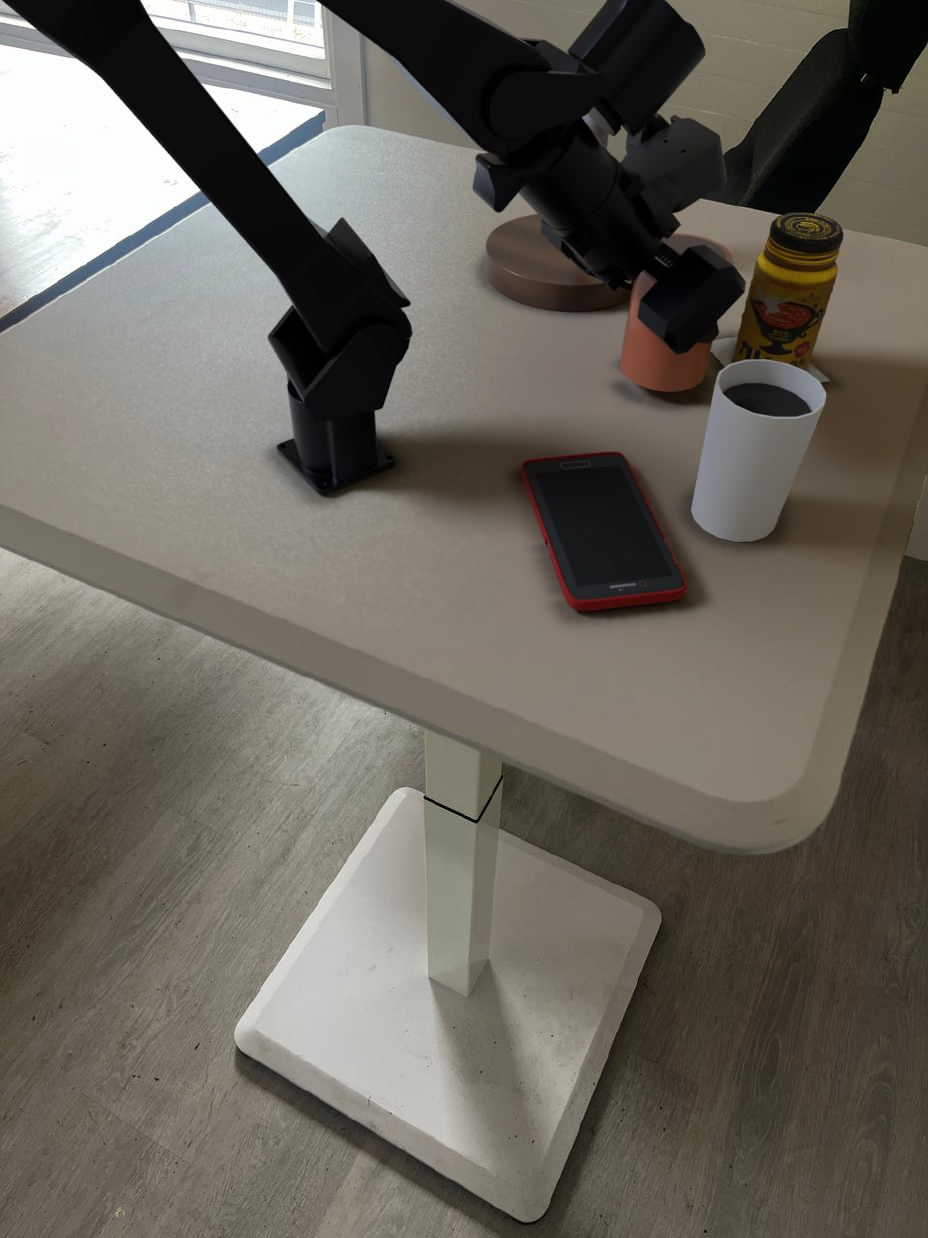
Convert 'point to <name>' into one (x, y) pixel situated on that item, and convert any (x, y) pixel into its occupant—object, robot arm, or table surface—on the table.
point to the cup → (650, 356)
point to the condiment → (787, 294)
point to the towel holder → (544, 265)
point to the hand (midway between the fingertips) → (687, 315)
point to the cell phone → (601, 532)
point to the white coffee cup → (754, 446)
